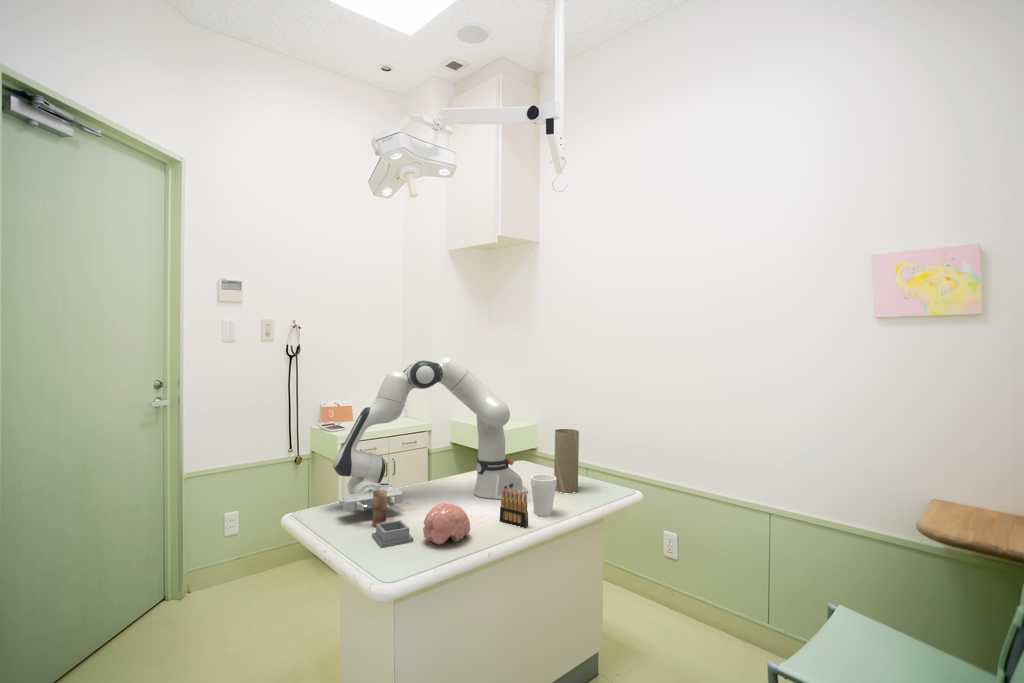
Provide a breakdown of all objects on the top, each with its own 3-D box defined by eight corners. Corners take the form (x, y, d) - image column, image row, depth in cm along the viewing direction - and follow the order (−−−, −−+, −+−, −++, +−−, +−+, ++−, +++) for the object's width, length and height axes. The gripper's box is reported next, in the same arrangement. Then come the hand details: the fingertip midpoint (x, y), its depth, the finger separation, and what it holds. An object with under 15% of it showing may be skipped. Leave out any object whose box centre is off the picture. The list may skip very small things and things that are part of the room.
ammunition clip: (499, 521, 173) (499, 486, 174) (502, 520, 175) (503, 485, 175) (525, 528, 167) (525, 492, 167) (528, 526, 169) (528, 491, 169)
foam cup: (524, 513, 182) (525, 477, 182) (541, 507, 189) (541, 472, 189) (545, 519, 176) (545, 482, 176) (561, 513, 183) (561, 477, 183)
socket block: (402, 530, 163) (402, 518, 163) (413, 541, 155) (413, 528, 155) (371, 536, 158) (372, 523, 158) (381, 547, 150) (381, 534, 150)
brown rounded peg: (383, 521, 172) (384, 489, 172) (388, 525, 168) (388, 492, 168) (370, 523, 169) (371, 490, 169) (374, 527, 165) (375, 494, 165)
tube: (574, 486, 217) (575, 428, 217) (580, 493, 207) (581, 433, 207) (551, 487, 216) (552, 429, 216) (556, 494, 206) (558, 433, 206)
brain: (446, 543, 165) (458, 505, 168) (473, 554, 156) (484, 514, 160) (409, 535, 154) (422, 495, 158) (436, 546, 145) (449, 504, 149)
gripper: (338, 490, 175) (347, 501, 163) (395, 482, 186) (408, 492, 174) (337, 508, 175) (347, 521, 163) (394, 499, 186) (407, 510, 174)
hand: (379, 506), depth 169 cm, fingers open, 8 cm apart
